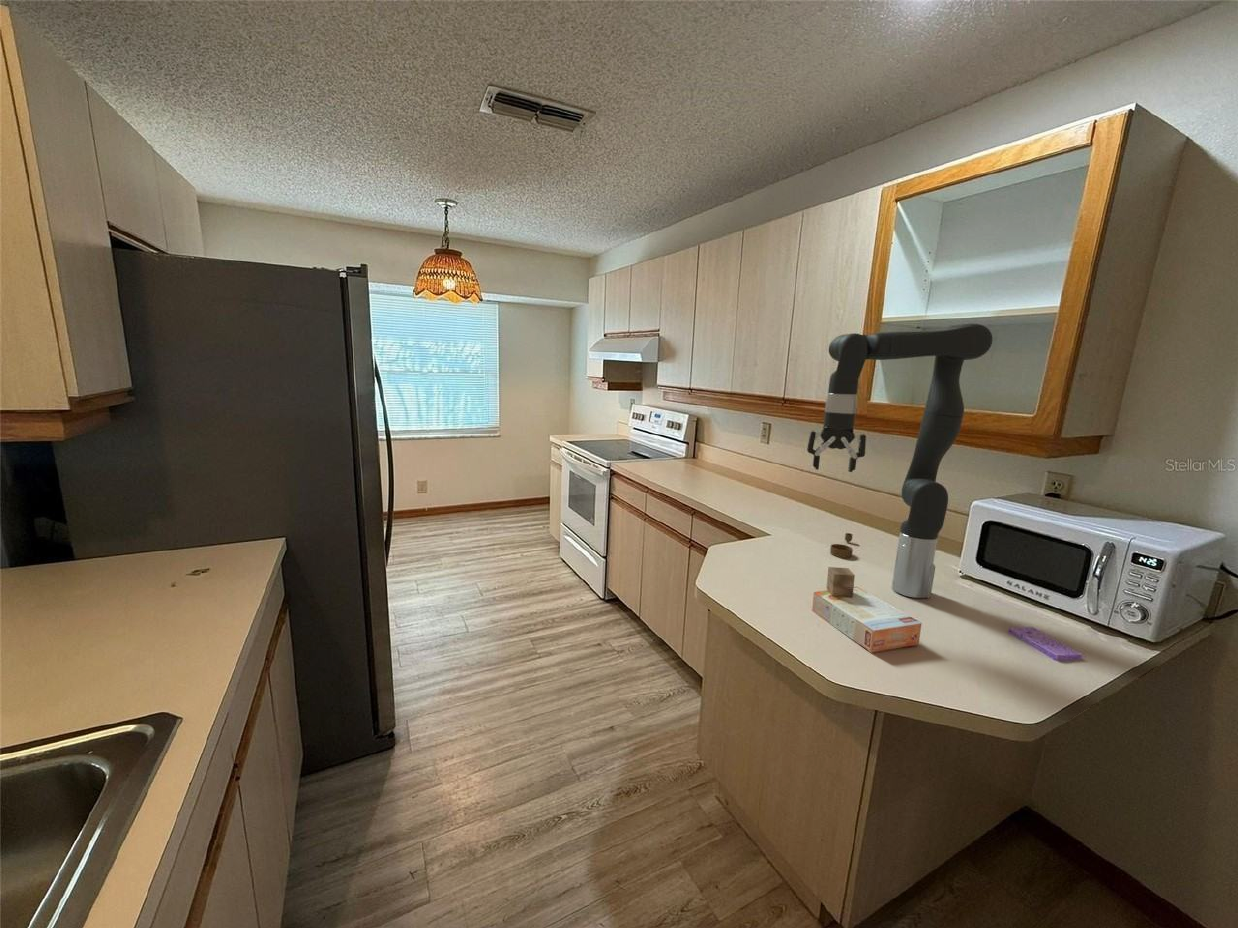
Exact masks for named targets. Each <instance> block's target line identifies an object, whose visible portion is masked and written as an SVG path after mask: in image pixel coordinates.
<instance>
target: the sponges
mask: <svg viewBox="0 0 1238 928" xmlns="http://www.w3.org/2000/svg"><path fill="white" fill-rule="evenodd" d="M1007 632H1009V634H1012V635H1013V636H1015V637H1016V638H1018V639H1019V640H1021V641H1023V642H1024V643H1026V644H1028V645H1030V646H1031V647H1032V648H1034V649H1035V650H1037V651H1039V652H1040V653H1042V654H1044V655H1046V656H1047V657H1049V658H1050V659H1052V660H1054V661H1057V662H1059V661H1061V662H1062V661H1075V660H1079V661H1080V660H1081V661H1082V659H1083V654H1082V653H1080V652H1078V651H1077V650H1075V649H1073V648H1072V647H1069V646H1067V645H1066V644H1064V643H1061V642H1060V641H1058V640H1057V639H1056V638H1053V637H1051V636H1049V635H1048V634H1046V633H1044V632H1042V631H1041V630H1039V629H1037V628H1035V627H1034V626H1024V627H1019V626H1018V627H1008V631H1007Z"/></svg>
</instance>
